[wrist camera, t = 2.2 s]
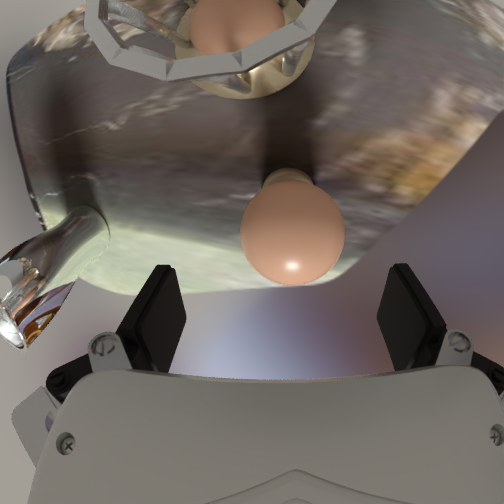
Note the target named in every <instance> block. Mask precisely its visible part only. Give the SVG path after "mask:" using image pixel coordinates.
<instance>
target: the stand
mask: <svg viewBox="0 0 504 504" xmlns="http://www.w3.org/2000/svg"><path fill="white" fill-rule="evenodd" d="M288 180H296V181H303V182H307V183H310V184H313V182H312V180H311V178H310V177H309V176H308V175H307V174H306V173H305V172H303V171H301V170H299V169H296V168H292V167H285V168H280V169H278V170H275V171H274V172H272V173H271V174H270V175H269V176H268V177H267V178H266V180H265V182H264V184H263V187H262V190H263V189H264V188H266V187H268V186H270V185H272V184H274V183H277V182H281V181H288ZM313 185H314V184H313Z"/></svg>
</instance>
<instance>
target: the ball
mask: <svg viewBox="0 0 504 504" xmlns="http://www.w3.org/2000/svg"><path fill="white" fill-rule="evenodd" d="M284 26H285V19H284V14H283V11H282V10H281V8H280V6H279V5H278V3H277V2H276V1H275V0H200V1H199V2H198V3H197V4H196V5H195V7H194V8H193V10H192V12H191V14H190V17H189V21H188V33H189V37H190V40H191V42H192V44H193V45H194V47H195V48H196V49H197V50H198V52H199V53H201V54H202V55H203V56H204V55H211V54H219V53H228V52H237V51H238V50H240V49H242V48H243V47H245V46H247V45H249V44H251V43H252V42H254V41H256V40H258V39H260V38H262V37H264V36H266V35H267V34H269V33H271V32H273V31H275V30H277V29H280V28H282V27H284Z"/></svg>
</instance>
